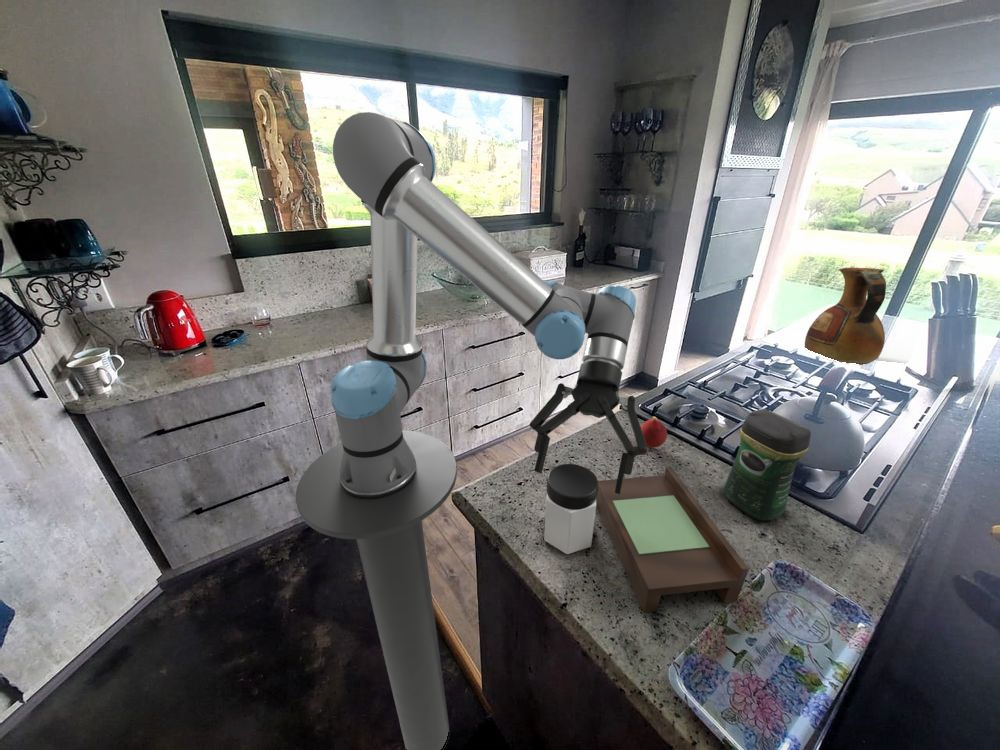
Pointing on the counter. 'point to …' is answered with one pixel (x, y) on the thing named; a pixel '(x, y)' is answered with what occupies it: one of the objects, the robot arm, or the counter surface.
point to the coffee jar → (765, 464)
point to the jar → (570, 507)
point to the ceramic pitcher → (852, 320)
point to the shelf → (667, 540)
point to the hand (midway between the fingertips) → (576, 482)
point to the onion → (654, 432)
